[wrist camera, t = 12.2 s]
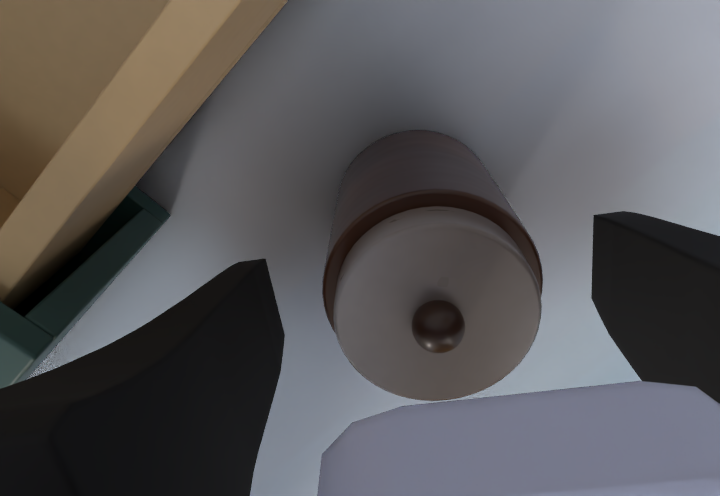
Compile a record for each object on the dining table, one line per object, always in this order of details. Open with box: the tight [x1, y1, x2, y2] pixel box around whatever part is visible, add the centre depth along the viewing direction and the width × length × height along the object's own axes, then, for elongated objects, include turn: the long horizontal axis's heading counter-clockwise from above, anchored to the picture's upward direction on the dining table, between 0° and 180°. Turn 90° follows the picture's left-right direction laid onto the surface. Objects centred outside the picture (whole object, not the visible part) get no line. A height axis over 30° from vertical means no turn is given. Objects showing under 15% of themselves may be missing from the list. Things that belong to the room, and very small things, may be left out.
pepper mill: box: [322, 130, 543, 401], centre depth 13 cm, size 5×5×7 cm
